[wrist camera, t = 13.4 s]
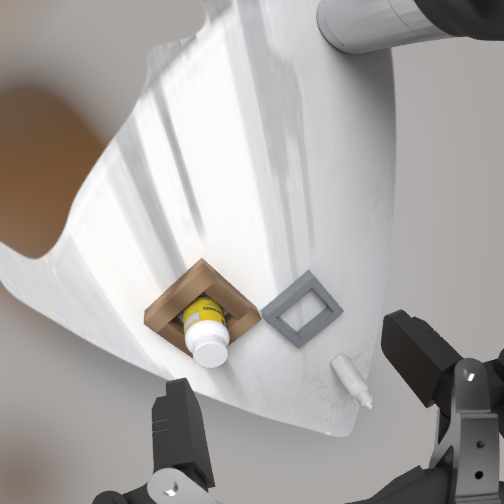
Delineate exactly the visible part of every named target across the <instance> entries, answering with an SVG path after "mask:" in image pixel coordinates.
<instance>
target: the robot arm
mask: <svg viewBox="0 0 504 504" xmlns="http://www.w3.org/2000/svg"><path fill="white" fill-rule="evenodd" d="M317 22H318V25H319V28H320V30H321V32H322V34H323V35H324V37H325V38H326V39H327V40H328V41H329V42H330V43H331V44H332V45H333V46H334V47H336V48H337V49H339V50H341V51H343V52H346V53H349V54H363V53H367V52H371V51H376V50H381V49H385V48H390V47H395V46H400V45H406V44H412V43H417V42H424V41H431V40H438V39H445V38H453V37H466V36H467V37H470V38H473V39H477V40H487V41H504V0H322V1H321V2H320V4H319V6H318V9H317ZM381 348H382V351H383V353H384V355H385V357H386V358H387V359H388V360H389V362H390V363H391V364H392V365H393V366H394V368H395V369H396V370H397V372H398V373H399V374H400V375H401V377H402V378H403V379H404V380H405V382H406V383H407V384H408V385H409V387H410V388H411V389H412V390H413V392H414V393H415V394H416V395H417V397H418V398H419V399H420V401H421V402H422V403H423V404H424V406H425V407H426V408H429V407H430V406H432V405H433V404H436V405H437V406H438V409H437V419H436V432H435V443H434V450H433V454H432V456H431V459H430V463H429V467H428V469H424V470H422V468H421V467H420V465H419V466H417V467H415V468H413V469H412V470H410V471H408V472H406V473H404V474H403V475H401V476H399V477H397V478H395V479H394V480H393V481H391V482H390V483H389V484H388V485H387V486H385V487H384V488H383V489H382V490H380V491H379V492H378V493H377V494H375V495H374V496H373V497H371V498H369V499H366V500H362V501H357V502H352V503H346V504H504V482H503V481H499V432H500V434H501V435H502V437H503V438H504V349H503V350H502V351H501V352H500V355H499V357H498V359H495V360H491V361H488V362H484V363H481V362H480V361H478V360H476V359H473V358H465V359H464V358H463V357H461V356H460V355H459V354H458V353H457V352H456V351H455V350H454V349H453V348H452V347H451V346H450V345H449V344H448V343H447V342H446V341H445V340H444V339H443V338H442V337H440V335H439V334H438V333H437V332H436V331H434V330H433V328H432V327H431V326H430V325H429V324H428V323H427V322H425V321H423V320H421V319H419V318H416V317H413V318H411V317H410V316H409V315H408V314H407V313H406V312H405V311H404V310H398V311H396V312H393V313H391V314H388V315H386V316H385V317H384V320H383V329H382V338H381ZM152 422H153V423H152V431H153V433H152V437H153V459H154V471H153V474H152V476H151V477H150V479H149V481H148V482H147V483H146V484H145V485H143V486H142V487H140V488H137V489H135V490H133V491H130V492H128V493H125V494H122V495H121V494H119V493H118V492H115V491H105V492H102V493H100V494H99V495H97V496H96V497H95V499H94V500H93V503H92V504H222V503H221V502H219V501H218V500H217V499H215V498H214V497H213V496H211V495H210V494H209V493H208V488H211V487H215V483H214V478H213V473H212V468H211V463H210V457H209V452H208V447H207V442H206V436H205V430H204V424H203V418H202V413H201V409H200V406H199V403H198V401H197V399H196V397H195V395H194V393H193V391H192V389H191V387H190V384H189V382H188V380H187V379H186V378H181V379H176V380H172V381H167V382H166V396H163V397H158V398H156V401H155V403H154V405H153V408H152Z"/></svg>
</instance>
